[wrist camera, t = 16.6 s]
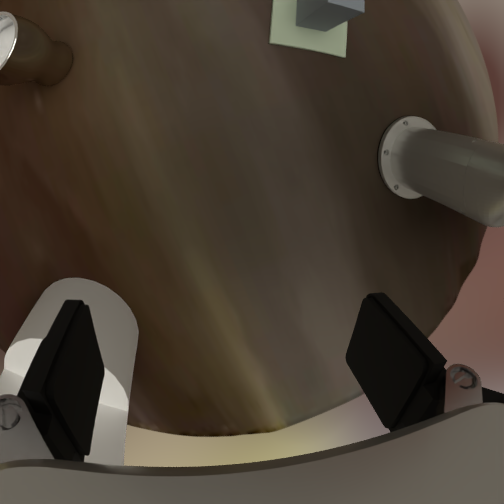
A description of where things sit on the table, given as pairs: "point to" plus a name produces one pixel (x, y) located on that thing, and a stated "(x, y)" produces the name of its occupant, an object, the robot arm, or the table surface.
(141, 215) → the table surface
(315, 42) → the sage mat
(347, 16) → the slate plug
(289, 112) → the table surface
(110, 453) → the grey stepped cylindrical piece
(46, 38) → the beer glass
